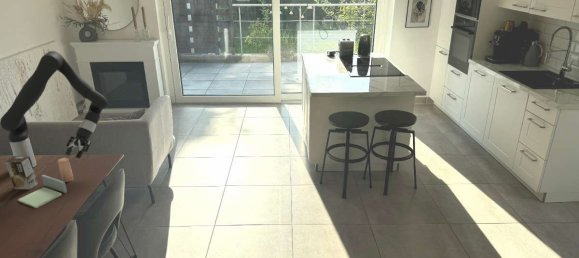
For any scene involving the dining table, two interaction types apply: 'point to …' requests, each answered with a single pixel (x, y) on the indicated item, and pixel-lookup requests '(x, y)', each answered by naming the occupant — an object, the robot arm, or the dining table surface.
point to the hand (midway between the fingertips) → (72, 156)
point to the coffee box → (21, 172)
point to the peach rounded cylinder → (65, 169)
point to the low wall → (54, 183)
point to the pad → (39, 197)
